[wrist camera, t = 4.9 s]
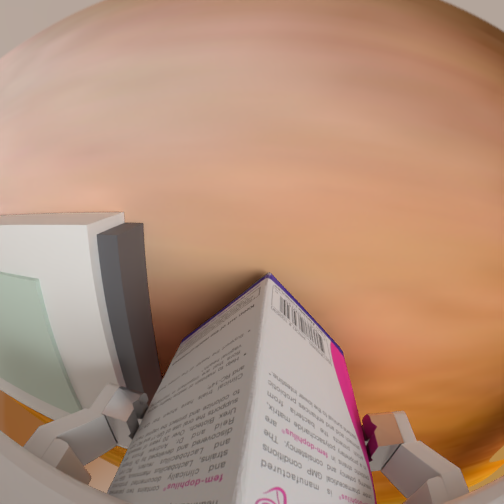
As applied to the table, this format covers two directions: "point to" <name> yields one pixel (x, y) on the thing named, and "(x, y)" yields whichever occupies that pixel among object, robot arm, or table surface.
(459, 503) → the robot arm
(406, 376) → the table surface
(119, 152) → the table surface
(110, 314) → the dock
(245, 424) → the supplement box
